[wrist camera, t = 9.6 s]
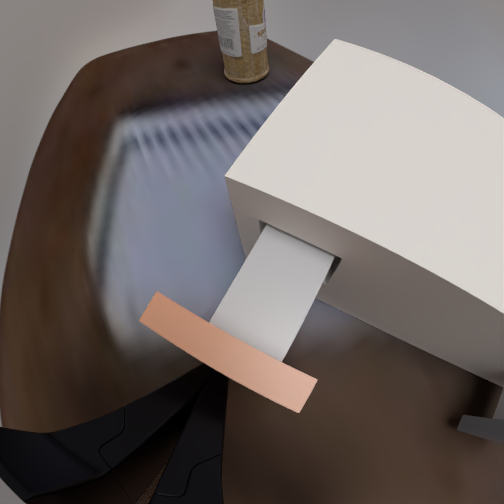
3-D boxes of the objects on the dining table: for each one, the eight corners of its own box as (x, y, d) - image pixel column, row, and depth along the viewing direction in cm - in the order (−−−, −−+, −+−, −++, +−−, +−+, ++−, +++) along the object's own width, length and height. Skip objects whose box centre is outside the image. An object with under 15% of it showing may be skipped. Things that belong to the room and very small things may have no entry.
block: (511, 391, 13) (600, 381, 5) (246, 264, 18) (224, 175, 10) (534, 254, 17) (599, 206, 8) (321, 136, 22) (334, 38, 14)
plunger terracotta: (286, 390, 14) (298, 413, 7) (202, 344, 15) (139, 320, 8) (380, 184, 18) (420, 92, 11) (312, 154, 19) (324, 56, 12)
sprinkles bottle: (276, 78, 25) (271, -47, 13) (231, 89, 25) (210, -40, 13) (259, 58, 27) (250, -52, 15) (218, 68, 27) (197, -45, 14)
